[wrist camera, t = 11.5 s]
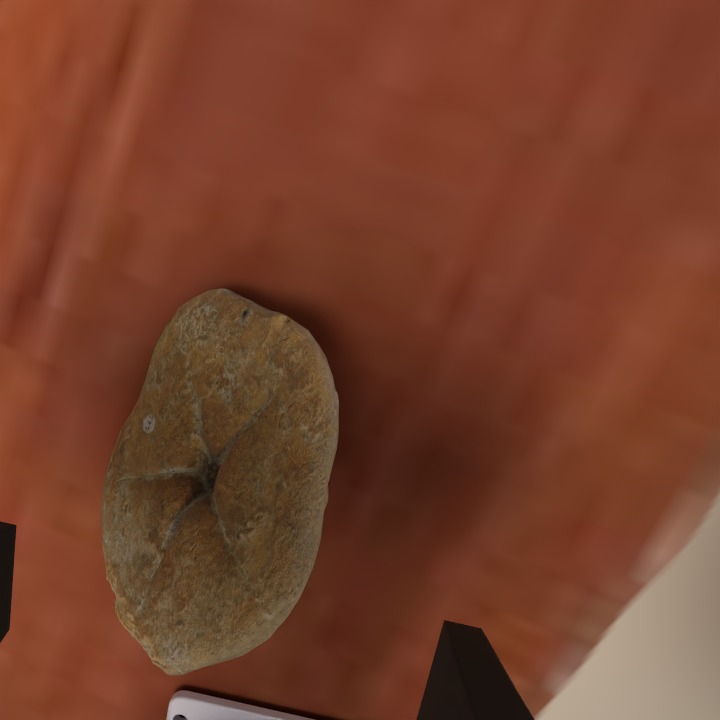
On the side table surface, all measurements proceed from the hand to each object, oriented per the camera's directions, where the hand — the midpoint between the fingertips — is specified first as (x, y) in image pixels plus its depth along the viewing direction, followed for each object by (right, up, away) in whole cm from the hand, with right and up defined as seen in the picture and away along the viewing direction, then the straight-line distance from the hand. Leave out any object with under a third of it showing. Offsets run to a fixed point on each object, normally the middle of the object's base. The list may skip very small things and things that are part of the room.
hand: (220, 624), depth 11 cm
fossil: (-2, +2, +11) cm, 11 cm away
